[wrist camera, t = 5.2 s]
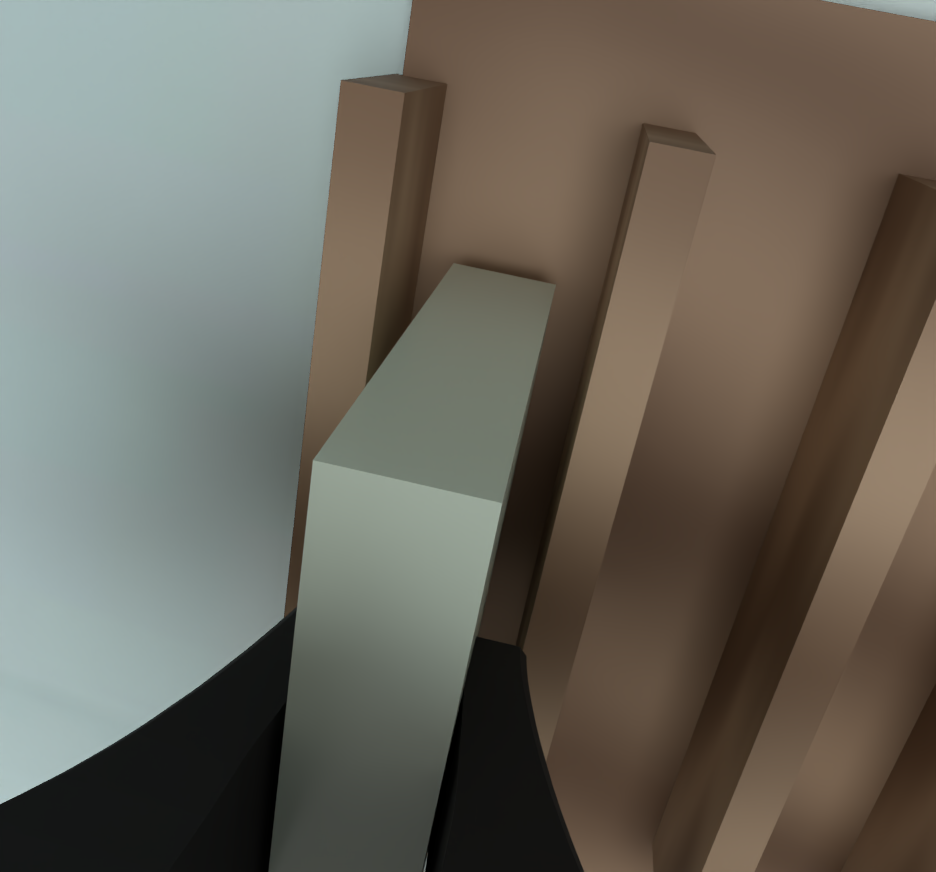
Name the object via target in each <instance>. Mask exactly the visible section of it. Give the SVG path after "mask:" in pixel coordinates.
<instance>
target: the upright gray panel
mask: <svg viewBox="0 0 936 872" xmlns="http://www.w3.org/2000/svg"><path fill="white" fill-rule="evenodd" d="M555 287H556V285H555V284H551V283H546V282H541V281H536V280H532V279H527V278H522V277H517V276H513V275H508V274H503V273H498V272H494V271H489V270H484V269H479V268H475V267H470V266H465V265H460V264H456V263H453V265H452V266H451V268H450V269H449V270H448V272H447V273H446V275H445V276H444V277H443V279H442V280H441V282H440V283H439V284H438V286H437V287H436V289H435V290H434V291H433V293H432V294H431V296H430V297H429V298H428V300H427V301H426V303H425V304H424V305H423V307H422V308H421V310H420V311H419V312H418V314H417V315H416V317H415V318H414V319H413V321H412V322H411V324H410V325H409V326H408V328H407V329H406V331H405V332H404V333H403V335H402V336H401V338H400V339H399V340H398V342H397V343H396V345H395V346H394V347H393V349H392V350H391V352H390V353H389V354H388V356H387V357H386V359H385V360H384V361H383V363H382V364H381V366H380V367H379V368H378V370H377V371H376V373H375V374H374V375H373V377H372V378H371V380H370V381H369V382H368V384H367V385H366V387H365V388H364V389H363V391H362V392H361V394H360V395H359V396H358V398H357V399H356V401H355V402H354V403H353V405H352V406H351V408H350V409H349V410H348V412H347V413H346V415H345V416H344V417H343V419H342V420H341V422H340V423H339V424H338V426H337V427H336V429H335V430H334V431H333V433H332V434H331V436H330V437H329V438H328V440H327V441H326V443H325V444H324V445H323V447H322V448H321V450H320V451H319V452H318V454H317V455H316V457H315V458H314V459H313V465H312V474H311V483H310V493H309V502H308V511H307V520H306V530H305V539H304V548H303V557H302V566H301V576H300V585H299V594H298V603H297V613H296V622H295V631H294V640H293V650H292V659H291V668H290V677H289V686H288V696H287V705H286V714H285V723H284V733H283V742H282V751H281V760H280V769H279V779H278V788H277V797H276V806H275V816H274V825H273V834H272V843H271V852H270V862H269V871H268V872H425V869H426V862H427V855H428V849H429V844H430V840H431V835H432V831H433V826H434V821H435V817H436V812H437V808H438V803H439V799H440V794H441V789H442V785H443V780H444V776H445V771H446V767H447V762H448V758H449V753H450V748H451V744H452V739H453V735H454V730H455V726H456V721H457V716H458V712H459V707H460V703H461V698H462V694H463V689H464V685H465V680H466V676H467V672H468V668H469V664H470V660H471V655H472V651H473V647H474V643H475V639H476V636H477V637H478V635H479V631H480V626H481V622H482V617H483V613H484V608H485V604H486V599H487V595H488V590H489V586H490V581H491V577H492V572H493V568H494V563H495V558H496V554H497V549H498V545H499V540H500V536H501V531H502V527H503V522H504V518H505V513H506V509H507V504H508V500H509V495H510V491H511V486H512V482H513V477H514V472H515V468H516V463H517V459H518V454H519V450H520V445H521V441H522V436H523V432H524V427H525V423H526V418H527V414H528V409H529V405H530V400H531V396H532V391H533V386H534V382H535V377H536V373H537V368H538V364H539V359H540V355H541V350H542V346H543V341H544V337H545V332H546V328H547V323H548V319H549V314H550V310H551V305H552V300H553V296H554V291H555Z"/></svg>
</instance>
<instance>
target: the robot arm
mask: <svg viewBox="0 0 936 872" xmlns="http://www.w3.org/2000/svg"><path fill="white" fill-rule="evenodd" d="M296 613H297V607H296V608H295V609H294V610H293V611H291V612H290V613H289V614H288V615H287V616H286V617H285V618H283V619H282V620H281V621H280V622H279V623H278V624H277V625H275V626H274V627H273V628H272V629H271V630H270V631H268V632H267V633H266V634H265V635H264V636H263V637H261V638H260V639H259V640H258V641H256V642H255V643H254V644H253V645H252V646H250V647H249V648H248V649H247V650H246V651H244V652H243V653H242V654H241V655H239V656H238V657H237V658H235V659H234V660H233V661H231V662H230V663H229V664H228V665H226V666H225V667H224V668H222V669H221V670H220V671H219V672H217V673H216V674H215V675H213V676H212V677H211V678H209V679H208V680H207V681H206V682H204V683H203V684H202V685H200V686H199V687H197V688H196V689H195V690H193V691H192V692H191V693H189V694H188V695H186V696H185V697H183V698H182V699H180V700H179V701H177V702H176V703H175V704H173V705H172V706H170V707H169V708H167V709H166V710H164V711H163V712H161V713H160V714H159V715H157V716H156V717H154V718H153V719H151V720H150V721H148V722H147V723H145V724H144V725H142V726H141V727H139V728H138V729H136V730H135V731H133V732H131V733H130V734H128V735H127V736H125V737H123V738H122V739H120V740H119V741H117V742H115V743H114V744H112V745H110V746H109V747H107V748H105V749H104V750H102V751H100V752H99V753H97V754H95V755H93V756H92V757H90V758H88V759H86V760H85V761H83V762H81V763H79V764H78V765H76V766H74V767H72V768H71V769H69V770H67V771H65V772H63V773H61V774H59V775H57V776H55V777H54V778H52V779H50V780H48V781H46V782H44V783H42V784H40V785H38V786H36V787H34V788H32V789H30V790H28V791H26V792H24V793H22V794H20V795H18V796H16V797H14V798H12V799H10V800H8V801H6V802H4V803H2V804H0V872H268V871H269V862H270V852H271V843H272V834H273V825H274V816H275V806H276V797H277V788H278V779H279V769H280V760H281V751H282V742H283V733H284V723H285V714H286V705H287V696H288V686H289V677H290V668H291V659H292V650H293V640H294V631H295V622H296ZM425 872H584V870H583V867H582V865H581V862H580V860H579V857H578V855H577V852H576V850H575V847H574V845H573V842H572V839H571V837H570V834H569V831H568V828H567V826H566V823H565V820H564V817H563V814H562V812H561V809H560V806H559V803H558V800H557V797H556V794H555V791H554V788H553V784H552V781H551V778H550V774H549V771H548V767H547V764H546V760H545V757H544V753H543V749H542V746H541V742H540V738H539V734H538V730H537V726H536V722H535V717H534V712H533V707H532V702H531V696H530V690H529V683H528V675H527V656H526V655H525V653H524V652H523V650H522V649H521V647H519V646H515V645H510V644H506V643H502V642H498V641H494V640H490V639H485V638H481V637H477V636H476V639H475V643H474V647H473V651H472V655H471V660H470V664H469V668H468V672H467V676H466V680H465V685H464V689H463V694H462V698H461V703H460V707H459V712H458V716H457V721H456V726H455V730H454V735H453V739H452V744H451V748H450V753H449V758H448V762H447V767H446V771H445V776H444V780H443V785H442V789H441V794H440V799H439V803H438V808H437V812H436V817H435V821H434V826H433V831H432V835H431V840H430V844H429V849H428V855H427V862H426V869H425Z"/></svg>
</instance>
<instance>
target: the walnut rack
mask: <svg viewBox="0 0 936 872" xmlns="http://www.w3.org/2000/svg"><path fill="white" fill-rule="evenodd" d="M453 263H456V264H460V265H465V266H470V267H475V268H479V269H484V270H489V271H494V272H498V273H503V274H508V275H513V276H517V277H522V278H527V279H532V280H536V281H541V282H546V283H551V284H555V285H556V287H555V291H554V296H553V300H552V305H551V310H550V314H549V319H548V323H547V328H546V332H545V337H544V341H543V346H542V350H541V355H540V359H539V364H538V368H537V373H536V377H535V382H534V386H533V391H532V396H531V400H530V405H529V409H528V414H527V418H526V423H525V427H524V432H523V436H522V441H521V445H520V450H519V454H518V459H517V463H516V468H515V472H514V477H513V482H512V486H511V491H510V495H509V500H508V504H507V509H506V513H505V518H504V522H503V527H502V531H501V536H500V540H499V545H498V549H497V554H496V558H495V563H494V568H493V572H492V577H491V581H490V586H489V590H488V595H487V599H486V604H485V608H484V613H483V617H482V622H481V626H480V631H479V635H478V637H481V638H485V639H490V640H494V641H498V642H502V643H506V644H510V645H515V646H519V647H521V649H522V650H523V652H524V653H525V655H526V656H527V675H528V683H529V690H530V696H531V702H532V707H533V712H534V717H535V722H536V726H537V730H538V734H539V738H540V742H541V746H542V749H543V753H544V757H545V760H546V764H547V767H548V771H549V774H550V778H551V781H552V784H553V788H554V791H555V794H556V797H557V800H558V803H559V806H560V809H561V812H562V814H563V817H564V820H565V823H566V826H567V828H568V831H569V834H570V837H571V839H572V842H573V845H574V847H575V850H576V852H577V855H578V857H579V860H580V862H581V865H582V867H583V870H584V872H936V22H934V21H929V20H924V19H918V18H913V17H907V16H902V15H897V14H891V13H886V12H881V11H875V10H870V9H864V8H859V7H854V6H848V5H843V4H837V3H832V2H827V1H821V0H413V1H412V9H411V16H410V24H409V31H408V39H407V47H406V54H405V62H404V69H403V75H399V74H392V75H383V76H374V77H365V78H356V79H348V80H341V85H340V94H339V104H338V113H337V123H336V132H335V141H334V151H333V160H332V170H331V179H330V189H329V198H328V207H327V217H326V226H325V236H324V245H323V255H322V264H321V273H320V283H319V292H318V302H317V311H316V321H315V330H314V339H313V349H312V358H311V368H310V377H309V387H308V396H307V405H306V415H305V424H304V434H303V443H302V453H301V462H300V471H299V481H298V490H297V500H296V509H295V518H294V528H293V537H292V547H291V556H290V566H289V575H288V584H287V594H286V603H285V613H284V618H285V617H286V616H287V615H288V614H289V613H290V612H291V611H293V610H294V609H295V608H296V607H297V603H298V594H299V585H300V576H301V566H302V557H303V548H304V539H305V530H306V520H307V511H308V502H309V493H310V483H311V474H312V465H313V459H314V458H315V457H316V455H317V454H318V452H319V451H320V450H321V448H322V447H323V445H324V444H325V443H326V441H327V440H328V438H329V437H330V436H331V434H332V433H333V431H334V430H335V429H336V427H337V426H338V424H339V423H340V422H341V420H342V419H343V417H344V416H345V415H346V413H347V412H348V410H349V409H350V408H351V406H352V405H353V403H354V402H355V401H356V399H357V398H358V396H359V395H360V394H361V392H362V391H363V389H364V388H365V387H366V385H367V384H368V382H369V381H370V380H371V378H372V377H373V375H374V374H375V373H376V371H377V370H378V368H379V367H380V366H381V364H382V363H383V361H384V360H385V359H386V357H387V356H388V354H389V353H390V352H391V350H392V349H393V347H394V346H395V345H396V343H397V342H398V340H399V339H400V338H401V336H402V335H403V333H404V332H405V331H406V329H407V328H408V326H409V325H410V324H411V322H412V321H413V319H414V318H415V317H416V315H417V314H418V312H419V311H420V310H421V308H422V307H423V305H424V304H425V303H426V301H427V300H428V298H429V297H430V296H431V294H432V293H433V291H434V290H435V289H436V287H437V286H438V284H439V283H440V282H441V280H442V279H443V277H444V276H445V275H446V273H447V272H448V270H449V269H450V268H451V266H452V265H453Z"/></svg>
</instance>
